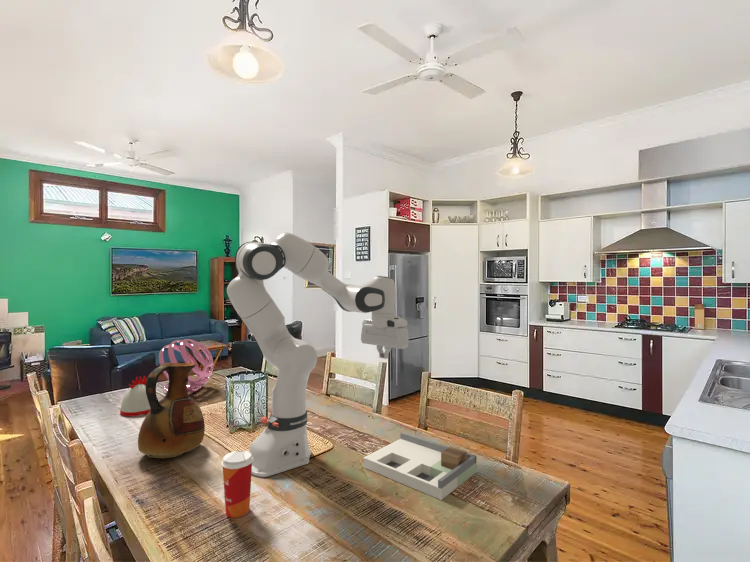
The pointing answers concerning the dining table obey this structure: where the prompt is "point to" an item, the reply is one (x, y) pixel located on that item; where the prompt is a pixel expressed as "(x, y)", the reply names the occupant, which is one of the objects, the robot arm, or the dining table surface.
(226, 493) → the paper cup
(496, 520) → the dining table surface
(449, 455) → the walnut block
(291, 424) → the robot arm
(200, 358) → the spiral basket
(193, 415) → the ceramic pitcher
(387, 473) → the tray
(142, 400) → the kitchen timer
